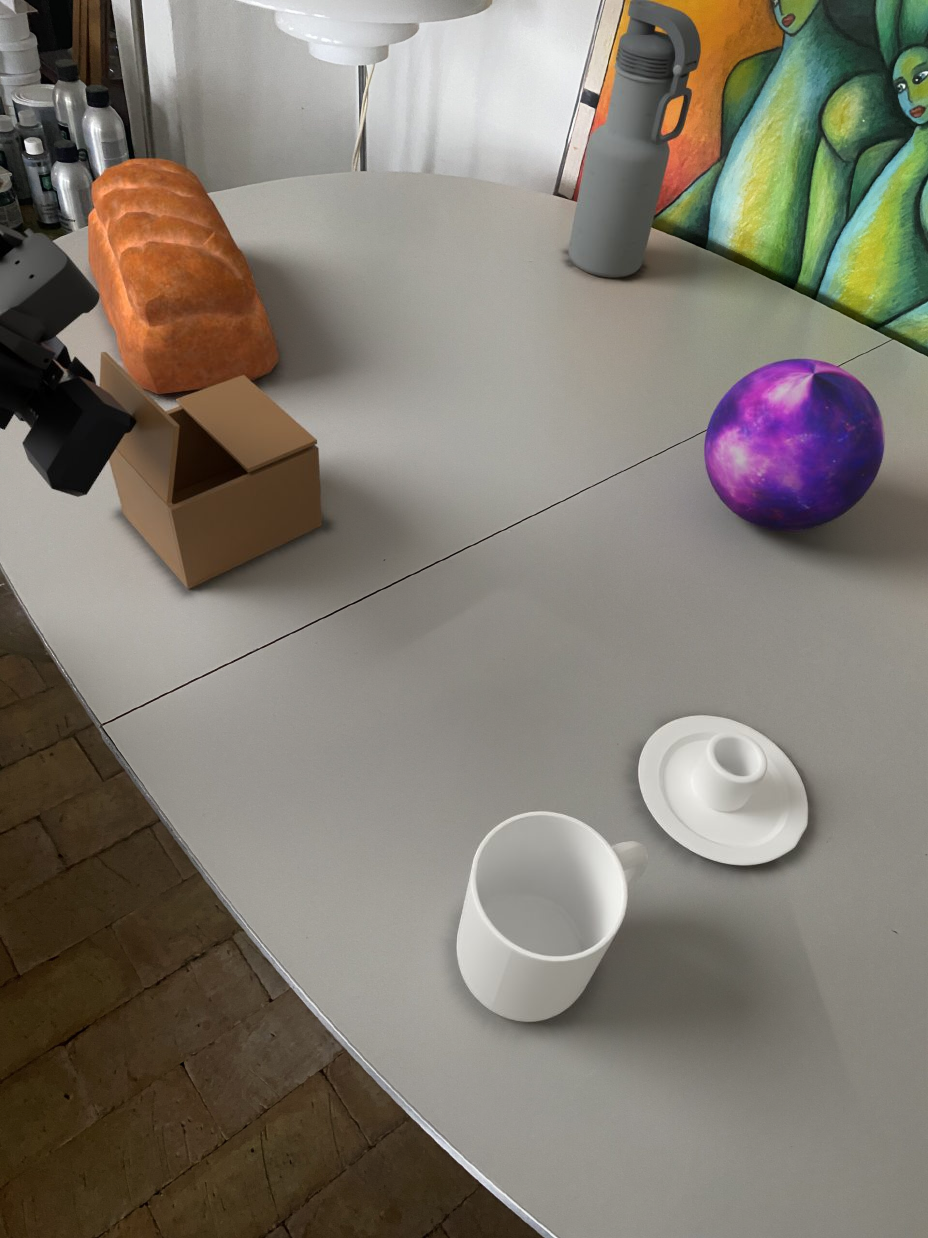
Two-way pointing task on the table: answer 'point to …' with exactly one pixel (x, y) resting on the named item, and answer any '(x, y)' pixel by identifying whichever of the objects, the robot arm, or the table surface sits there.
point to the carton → (226, 483)
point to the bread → (174, 280)
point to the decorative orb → (794, 444)
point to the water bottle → (633, 141)
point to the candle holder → (723, 790)
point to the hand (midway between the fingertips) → (131, 424)
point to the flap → (144, 429)
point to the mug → (542, 912)
